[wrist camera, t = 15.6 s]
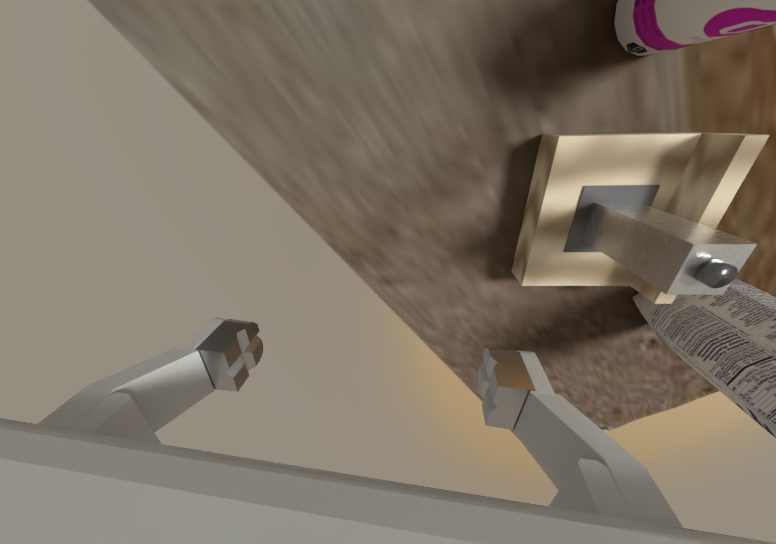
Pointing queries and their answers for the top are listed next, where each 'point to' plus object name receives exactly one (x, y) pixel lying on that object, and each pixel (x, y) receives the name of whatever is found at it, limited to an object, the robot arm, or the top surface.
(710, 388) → the top surface
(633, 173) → the birch stand
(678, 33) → the supplement can
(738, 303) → the juice carton
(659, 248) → the square capped bottle
